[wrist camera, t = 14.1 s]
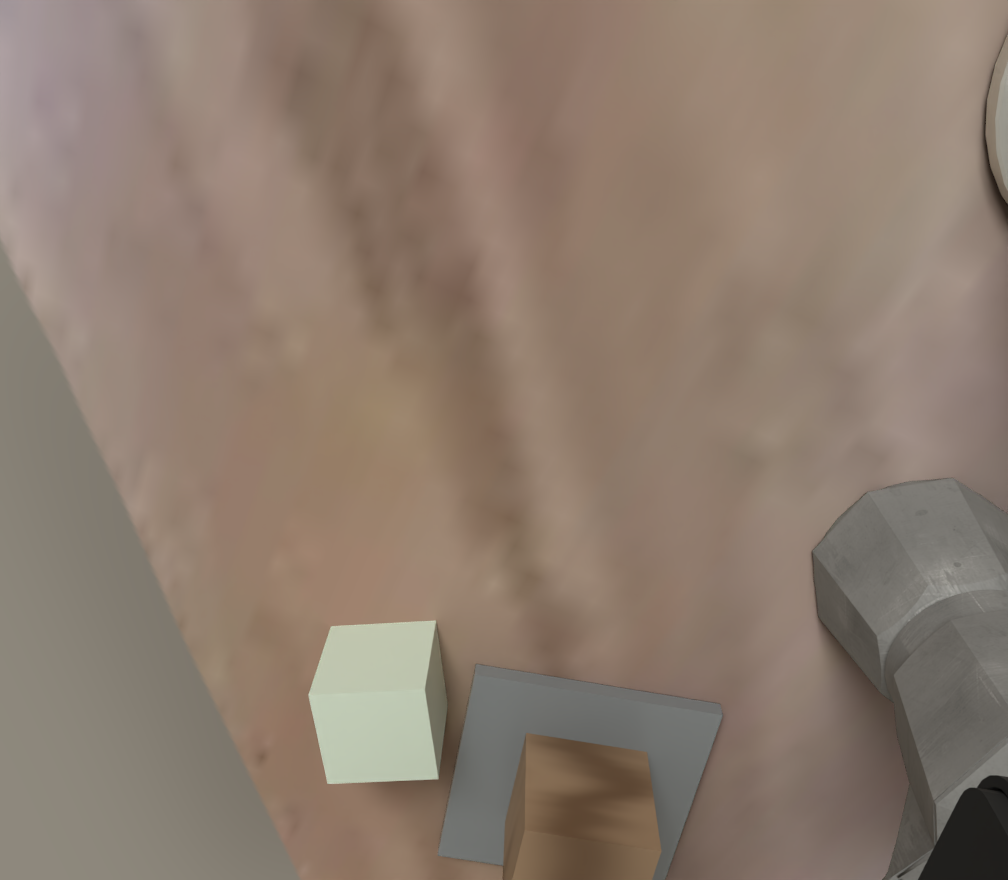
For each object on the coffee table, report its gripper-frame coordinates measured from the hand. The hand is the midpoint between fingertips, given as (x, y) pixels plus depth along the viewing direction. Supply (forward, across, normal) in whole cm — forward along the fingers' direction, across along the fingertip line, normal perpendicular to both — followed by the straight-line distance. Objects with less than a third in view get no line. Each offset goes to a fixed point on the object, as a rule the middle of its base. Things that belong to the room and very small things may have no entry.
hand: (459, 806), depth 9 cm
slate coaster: (+30, -8, +28) cm, 42 cm away
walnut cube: (+30, -8, +28) cm, 41 cm away
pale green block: (+30, +2, +23) cm, 38 cm away
